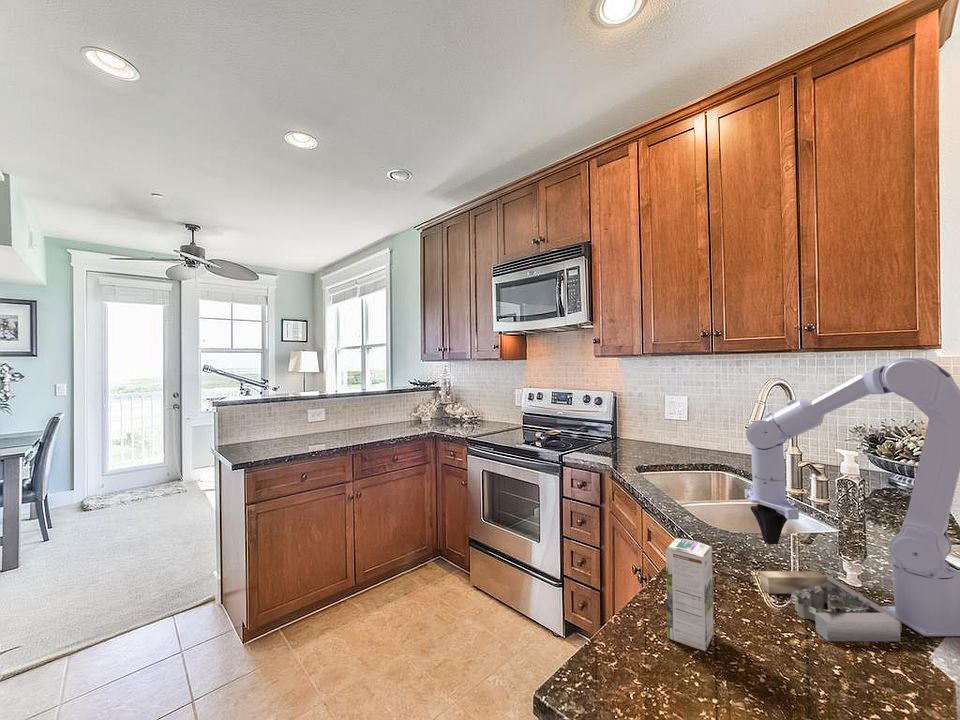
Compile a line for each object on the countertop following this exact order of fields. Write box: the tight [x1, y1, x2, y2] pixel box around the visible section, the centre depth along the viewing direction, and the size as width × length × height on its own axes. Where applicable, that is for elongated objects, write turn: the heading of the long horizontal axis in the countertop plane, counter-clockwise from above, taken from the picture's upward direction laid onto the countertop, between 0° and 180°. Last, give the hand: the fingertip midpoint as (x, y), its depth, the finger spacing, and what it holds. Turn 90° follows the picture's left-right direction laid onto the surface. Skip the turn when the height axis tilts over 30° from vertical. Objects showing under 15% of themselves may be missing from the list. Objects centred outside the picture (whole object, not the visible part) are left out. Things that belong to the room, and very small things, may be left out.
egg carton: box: [790, 582, 870, 622], centre depth 74 cm, size 11×8×4 cm
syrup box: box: [665, 537, 715, 652], centre depth 69 cm, size 6×6×14 cm
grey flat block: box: [814, 574, 903, 642], centre depth 76 cm, size 14×18×3 cm
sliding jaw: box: [759, 570, 828, 594], centre depth 82 cm, size 11×2×3 cm, turn 88°
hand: (771, 543), depth 89 cm, fingers closed
